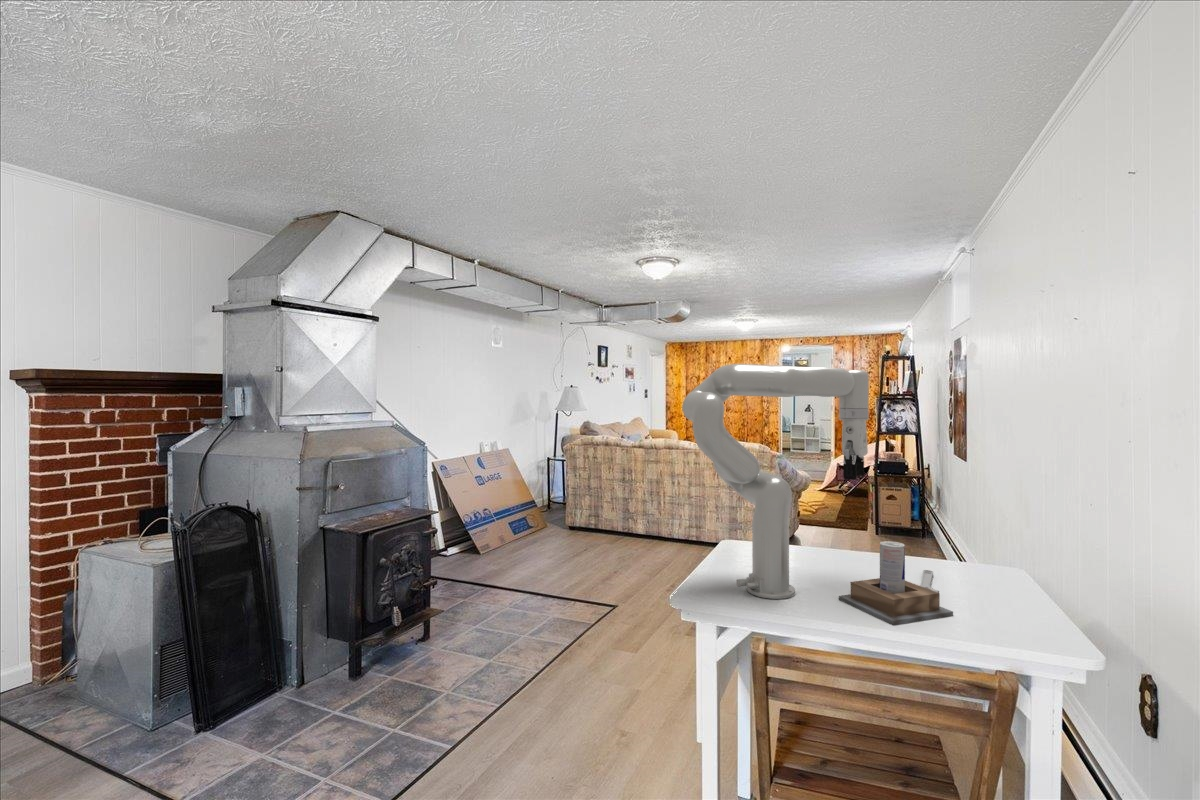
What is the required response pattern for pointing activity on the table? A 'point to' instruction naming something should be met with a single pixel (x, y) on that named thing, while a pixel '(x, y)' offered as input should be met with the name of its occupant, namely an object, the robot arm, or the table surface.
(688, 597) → the table surface
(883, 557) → the beverage can
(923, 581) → the adjustable wrench
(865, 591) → the holder
